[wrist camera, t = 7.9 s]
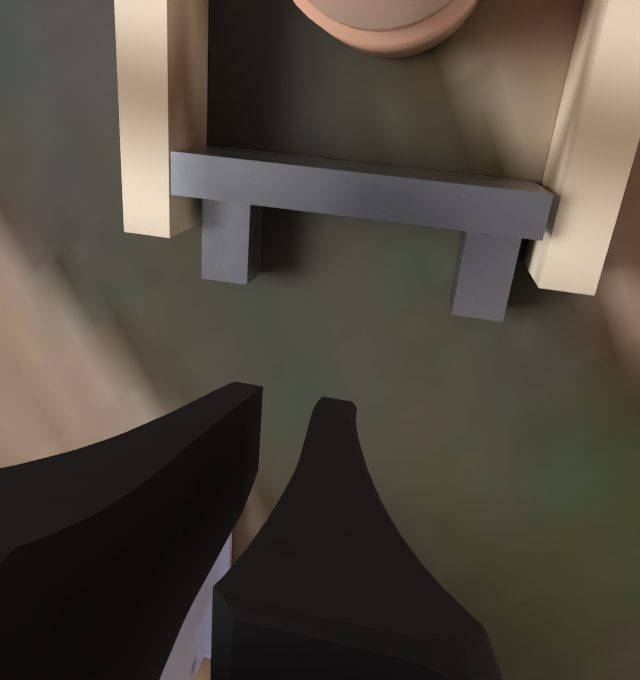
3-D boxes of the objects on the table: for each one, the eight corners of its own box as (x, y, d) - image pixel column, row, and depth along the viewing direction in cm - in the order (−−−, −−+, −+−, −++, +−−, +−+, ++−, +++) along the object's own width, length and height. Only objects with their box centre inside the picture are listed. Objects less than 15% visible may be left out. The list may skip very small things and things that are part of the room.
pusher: (503, 307, 19) (517, 345, 16) (212, 265, 21) (172, 293, 18) (532, 180, 18) (553, 194, 14) (215, 145, 19) (171, 151, 16)
